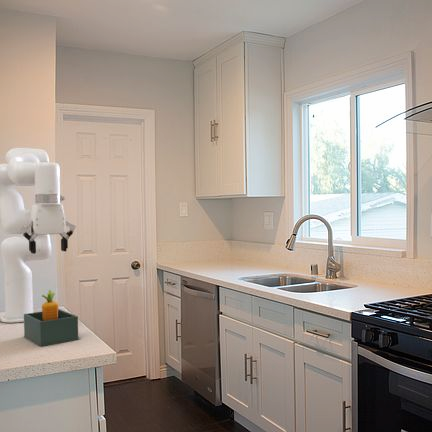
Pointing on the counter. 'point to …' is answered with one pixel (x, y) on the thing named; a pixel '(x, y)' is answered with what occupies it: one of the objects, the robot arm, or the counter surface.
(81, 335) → the counter surface
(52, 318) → the carrot
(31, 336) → the bin
